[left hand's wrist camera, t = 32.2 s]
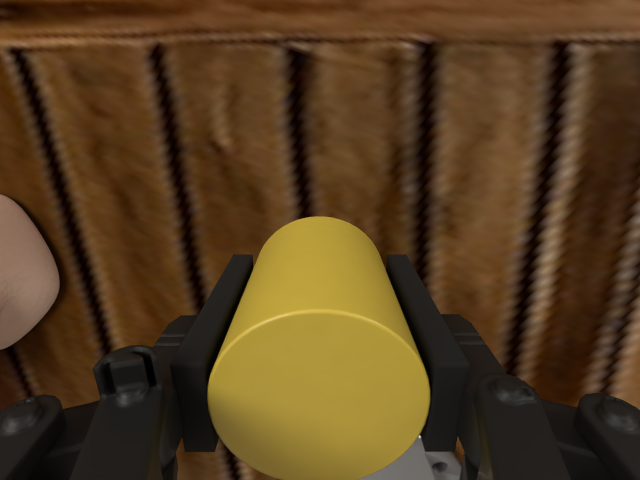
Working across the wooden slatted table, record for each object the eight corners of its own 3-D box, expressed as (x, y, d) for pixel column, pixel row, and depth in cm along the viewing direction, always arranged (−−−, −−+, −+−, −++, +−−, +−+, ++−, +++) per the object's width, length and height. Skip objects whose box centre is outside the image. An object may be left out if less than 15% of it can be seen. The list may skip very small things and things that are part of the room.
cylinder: (382, 327, 16) (426, 482, 10) (263, 333, 16) (223, 490, 10) (383, 212, 14) (438, 304, 8) (248, 219, 14) (186, 316, 8)
